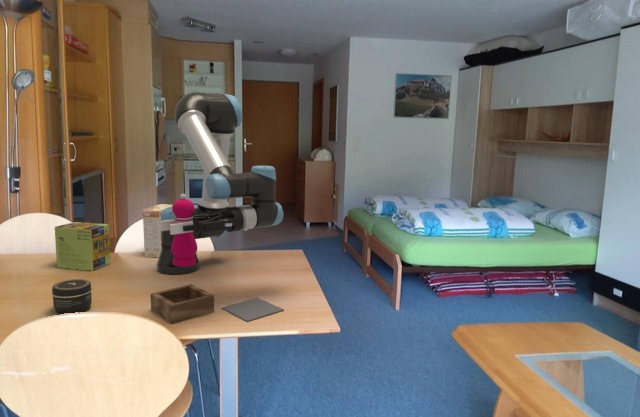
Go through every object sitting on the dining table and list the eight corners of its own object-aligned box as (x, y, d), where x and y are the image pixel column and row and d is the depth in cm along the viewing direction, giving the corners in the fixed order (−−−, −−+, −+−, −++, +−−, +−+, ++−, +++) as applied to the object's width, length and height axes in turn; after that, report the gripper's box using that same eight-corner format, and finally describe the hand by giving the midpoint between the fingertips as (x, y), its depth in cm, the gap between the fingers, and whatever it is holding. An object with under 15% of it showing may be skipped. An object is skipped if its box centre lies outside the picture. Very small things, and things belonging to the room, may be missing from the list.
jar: (65, 302, 144) (64, 278, 142) (99, 303, 143) (97, 279, 142) (45, 315, 134) (44, 289, 132) (81, 316, 133) (79, 290, 132)
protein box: (93, 271, 174) (91, 229, 172) (56, 268, 177) (53, 226, 175) (111, 263, 184) (109, 223, 182) (76, 260, 187) (73, 221, 185)
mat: (221, 308, 142) (221, 307, 142) (257, 298, 151) (257, 297, 151) (247, 322, 133) (247, 320, 133) (283, 310, 142) (284, 309, 141)
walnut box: (151, 310, 139) (150, 293, 139) (191, 299, 148) (191, 284, 148) (172, 323, 130) (171, 306, 129) (214, 312, 139) (214, 295, 138)
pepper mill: (202, 261, 139) (201, 193, 136) (187, 268, 132) (186, 196, 129) (181, 259, 141) (179, 191, 138) (165, 265, 135) (163, 194, 131)
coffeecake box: (161, 248, 209) (159, 203, 206) (176, 249, 208) (175, 204, 205) (143, 257, 194) (141, 209, 191) (160, 258, 193) (158, 210, 190)
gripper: (255, 235, 141) (182, 247, 126) (222, 225, 154) (151, 235, 138) (255, 210, 140) (181, 219, 124) (222, 202, 153) (151, 209, 137)
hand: (166, 227), depth 131 cm, fingers closed on pepper mill, 5 cm apart
